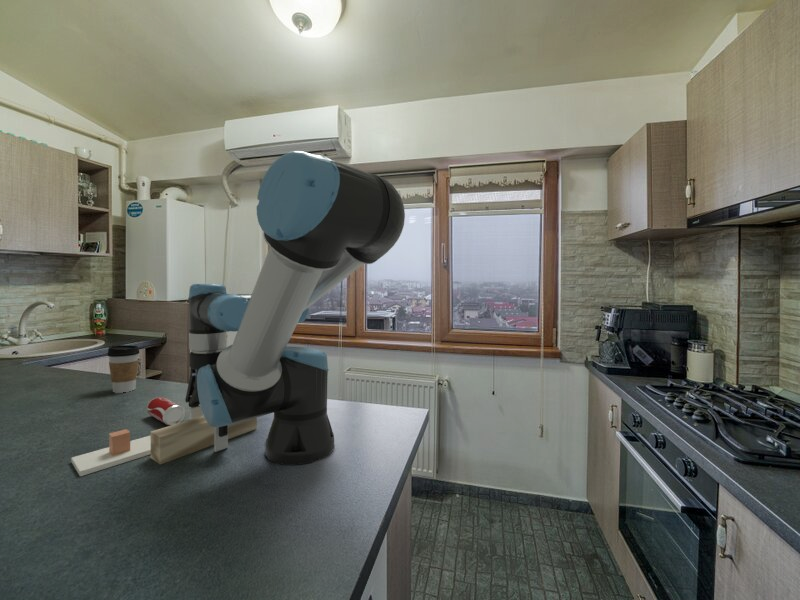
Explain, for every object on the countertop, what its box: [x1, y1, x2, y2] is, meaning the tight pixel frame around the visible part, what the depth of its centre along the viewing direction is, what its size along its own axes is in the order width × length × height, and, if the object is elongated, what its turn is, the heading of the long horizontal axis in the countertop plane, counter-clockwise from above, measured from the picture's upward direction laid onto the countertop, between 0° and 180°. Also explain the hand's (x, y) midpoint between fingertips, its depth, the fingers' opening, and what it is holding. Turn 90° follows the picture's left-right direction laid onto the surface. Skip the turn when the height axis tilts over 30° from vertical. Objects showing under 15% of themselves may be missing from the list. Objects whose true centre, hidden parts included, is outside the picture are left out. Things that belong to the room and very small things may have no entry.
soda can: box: [146, 396, 186, 426], centre depth 93 cm, size 5×5×12 cm
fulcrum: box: [71, 428, 151, 477], centre depth 74 cm, size 8×14×5 cm, turn 142°
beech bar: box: [149, 415, 258, 465], centre depth 81 cm, size 4×22×6 cm, turn 146°
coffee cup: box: [106, 344, 140, 394], centre depth 116 cm, size 8×8×15 cm
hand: (208, 440), depth 82 cm, fingers open, 12 cm apart
